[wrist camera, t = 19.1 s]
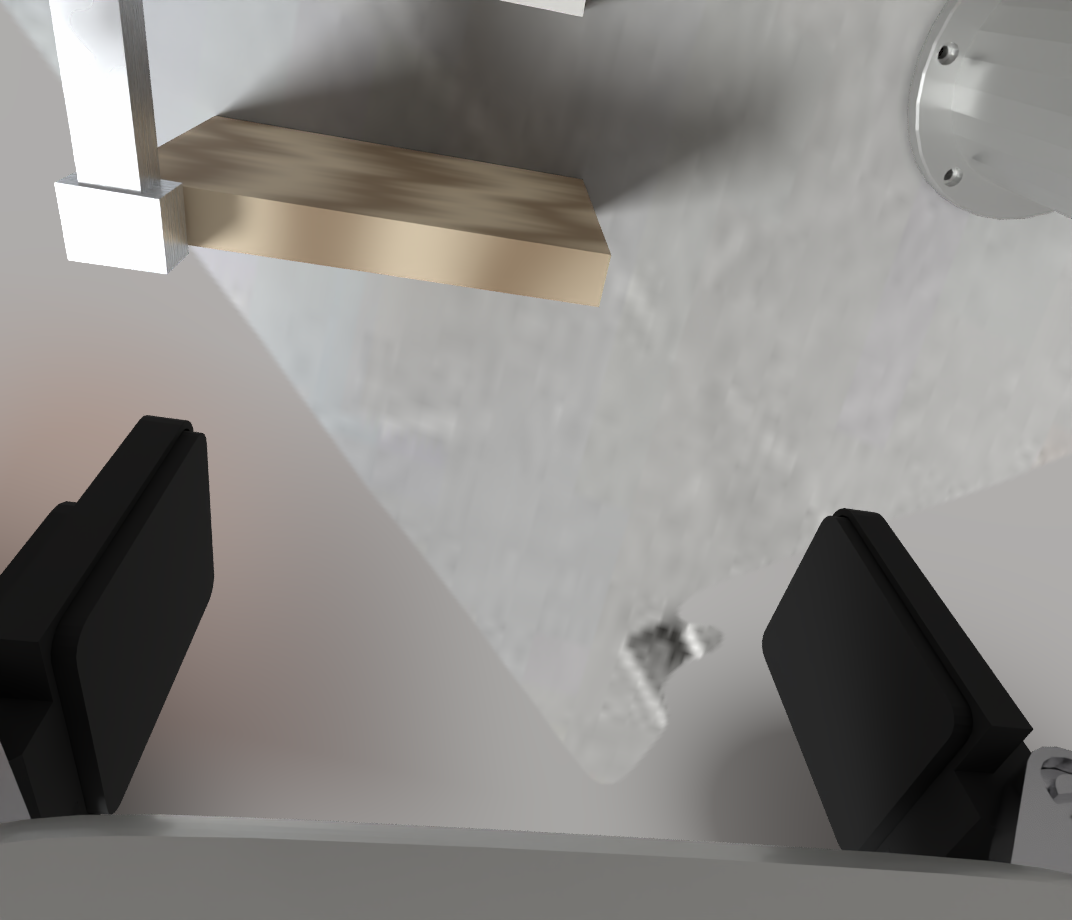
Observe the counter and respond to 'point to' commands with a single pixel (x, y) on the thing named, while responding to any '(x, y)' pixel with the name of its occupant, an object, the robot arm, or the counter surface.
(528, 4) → the hollow square frame
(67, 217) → the bar
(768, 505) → the counter surface
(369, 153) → the wooden block
